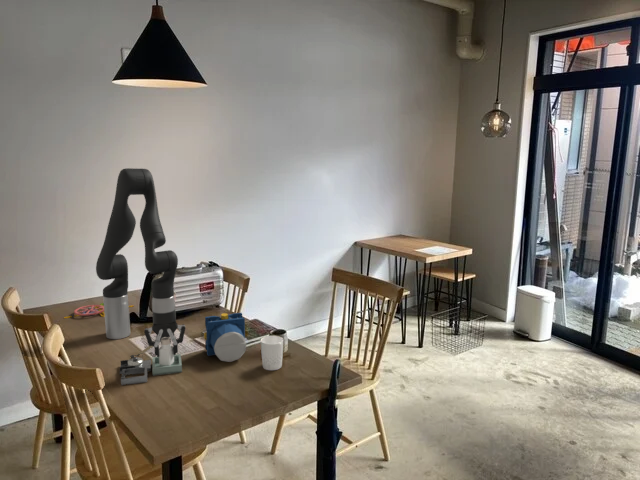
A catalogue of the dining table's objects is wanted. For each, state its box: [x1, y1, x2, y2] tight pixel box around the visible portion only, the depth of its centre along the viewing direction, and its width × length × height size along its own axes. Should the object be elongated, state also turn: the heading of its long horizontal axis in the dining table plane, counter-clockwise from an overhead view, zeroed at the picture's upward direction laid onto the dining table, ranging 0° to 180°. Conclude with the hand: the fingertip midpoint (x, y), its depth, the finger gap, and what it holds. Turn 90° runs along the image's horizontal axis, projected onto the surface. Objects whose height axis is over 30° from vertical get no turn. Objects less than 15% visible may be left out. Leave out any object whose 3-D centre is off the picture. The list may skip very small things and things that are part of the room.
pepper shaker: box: [159, 337, 174, 366], centre depth 178 cm, size 4×4×10 cm
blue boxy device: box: [203, 312, 247, 363], centre depth 188 cm, size 13×15×15 cm
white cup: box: [260, 335, 284, 371], centre depth 180 cm, size 8×8×10 cm
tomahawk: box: [130, 338, 161, 359], centre depth 196 cm, size 21×7×1 cm, turn 164°
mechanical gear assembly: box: [63, 302, 135, 319], centre depth 235 cm, size 30×4×15 cm
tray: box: [151, 353, 183, 377], centre depth 179 cm, size 10×10×3 cm
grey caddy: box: [118, 357, 152, 386], centre depth 174 cm, size 15×10×4 cm, turn 17°
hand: (166, 354), depth 178 cm, fingers closed on pepper shaker, 5 cm apart
